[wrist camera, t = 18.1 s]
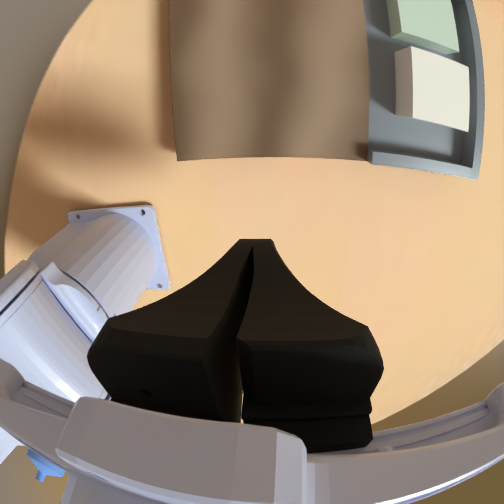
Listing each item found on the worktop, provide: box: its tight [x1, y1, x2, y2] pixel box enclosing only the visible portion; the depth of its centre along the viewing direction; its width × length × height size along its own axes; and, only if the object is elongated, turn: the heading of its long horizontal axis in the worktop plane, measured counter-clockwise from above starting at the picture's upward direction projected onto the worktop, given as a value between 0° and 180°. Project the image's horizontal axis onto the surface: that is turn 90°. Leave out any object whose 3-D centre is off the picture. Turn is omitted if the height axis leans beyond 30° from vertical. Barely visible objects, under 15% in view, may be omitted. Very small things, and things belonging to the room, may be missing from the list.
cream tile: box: [394, 46, 470, 132], centre depth 12 cm, size 4×4×2 cm
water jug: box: [27, 449, 66, 482], centre depth 53 cm, size 16×16×28 cm
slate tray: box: [363, 0, 485, 180], centre depth 12 cm, size 9×15×3 cm, turn 2°
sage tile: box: [386, 0, 459, 54], centre depth 9 cm, size 4×4×2 cm
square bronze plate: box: [169, 0, 369, 161], centre depth 13 cm, size 12×15×2 cm
